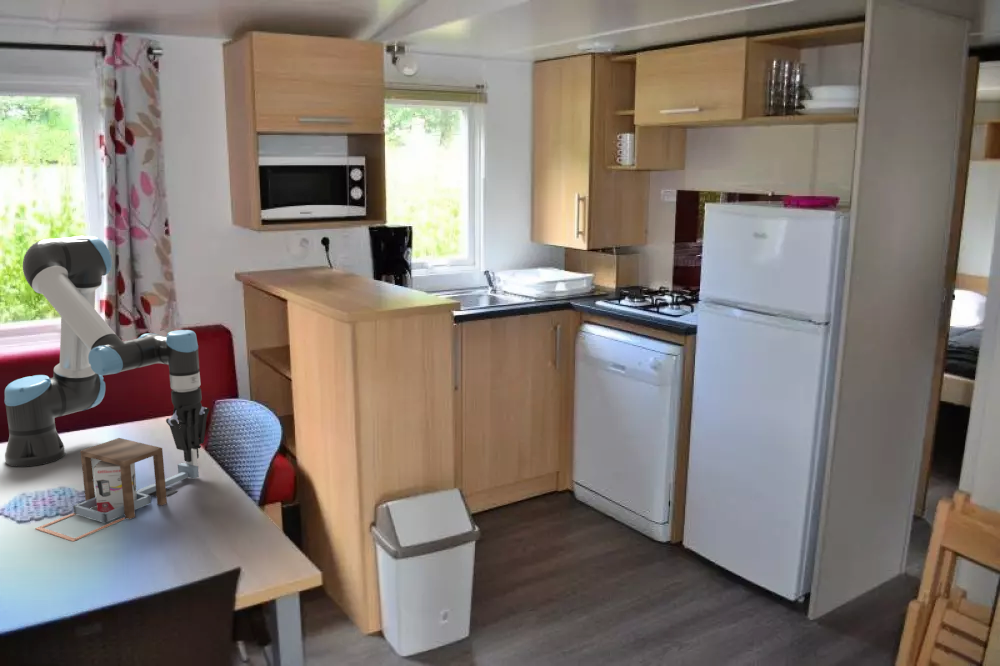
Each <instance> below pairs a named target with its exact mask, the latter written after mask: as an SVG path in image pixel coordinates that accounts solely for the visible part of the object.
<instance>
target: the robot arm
mask: <svg viewBox="0 0 1000 666" xmlns="http://www.w3.org/2000/svg"><path fill="white" fill-rule="evenodd" d="M112 266H113V259H112V255H111V252H110V249H109V248H108V247H107V245H106V243H105V242H104V241H103V240H102V239H100V238H99V237H97V236H94V235H87V236H86V235H85V236H84V235H78V236H69V237H68V236H67V237H59V238H58V237H57V238H56V237H55V238H44V239H41V240H38V241H37V242H35V243H33V244H32V245H31V246H29V248H28V249H27V250H26V252H25V254H24V256H23V260H22V272H23V275H24V278H25V281H26V282H27V284H28V285H29V286H30V287H31V288H32V290H33V291H34V292H35V293H37V294H41V295H43V296H44V298H45V299H46V301H47V302H48V303H49V304H50V305H51V306H52V308H53V309H54V310H55V311H56V312H57V313H58V314H59V316H60V341H59V342H60V345H59V363H57V364H56V365H55V366H54V367H53V377H49V376H48V375H45V374H35V375H32V376H30V375H29V376H25V377H22V378H17V379H15V380H13V381H11V382H10V383H8V384H7V386H6V387H5V389H4V404H5V409H6V417H7V418H6V419H7V424H8V434H9V437H8V441H7V445H6V449H5V453H4V459H5V464H6V465H8V466H11V467H16V468H17V467H19V468H20V467H22V468H23V467H34V466H35V467H36V466H40V465H45V464H49V463H52V462H56V461H57V460H60V459H61V458H63V457H64V456H65V454H66V449H65V445H64V443H63V441H62V439H61V437H60V435H59V433H58V431H57V429H56V423H55V422H56V421H55V418H59V417H63V416H66V415H70V414H71V415H72V414H74V413H77V412H82V411H86V410H89V409H91V408H95V407H96V406H98V405H100V404H101V402H102V401H103V399H104V398H105V394H106V382H105V381H104V377H103V376H108V375H109V376H110V375H114V374H119V373H121V372H125V371H130V370H134V369H138V368H143V367H147V366H151V365H155V364H163V365H167V366H168V369H169V385H170V389H171V391H170V394H171V403H172V405H173V411H172V413H173V414H172V416H170V417H168V418H166V419H165V422H166V424H167V425H168V426H169V429H170V431H171V434H172V437H173V441H174V444H175V447H176V449H177V450H179V451H183V460H184V462H185V463H186V464H190V465H194V466H198V467H199V465H198V464H199V463H198V459H199V456H200V454H199V449H201V448H202V445H203V444H204V443H205V437H206V427H207V418H208V415H209V412H210V408H209V407H205V406H202V405H203V404H202V402H201V401H202V400H203V398H202V397H203V396H202V388H201V387H200V386H201V375H200V373H201V372H200V358H199V345H198V344H199V343H198V339H197V334H196V332H195V331H194V330H190V329H178V330H177V329H176V330H172V331H169V332H168V333H167V334H166V335H162V334H159V333H154V332H153V333H143V334H141V335H140V336H138V338H135V339H131V340H129V339H128V340H124V341H123V340H122V339H121V338H120V337H119V336H118V335H117V334H116V333H115V331H114V330H113V328H111V327H110V326H109V324H108V323H107V321H105V319H103V317H102V316H101V314H100V313H98V312H97V311H98V310H96V308H95V307H96V306H95V305H96V290H97V289H98V288H100V287H101V286H102V283H103V279H102V278H103V276H106V275H108V274H109V273H110V272H111V270H112V268H113V267H112Z"/></svg>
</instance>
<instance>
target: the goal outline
mask: <svg viewBox="0 0 1000 666" xmlns="http://www.w3.org/2000/svg"><path fill="white" fill-rule="evenodd" d="M90 509H92V508H90ZM75 515H77V514H74V512H72V513H70V514H68V515H64V516H63V517H60V518H57V519H55V520H53V521H50V522H47V523H46V524H43V525H40V526H38V527H36V528H35V530H37V531H40V532H43V533H45V534H49V535H52V536H54V537H58V538H61V539H63V540H67V541H70V542H75V541H78V540H81V539H82V537H83V538H85V537H87V536H89V535H91V534H95V533H96V532H99V531H101V530H103V529H105V528H107V527H110V526H112V525H115V524H116V523H119V522H122V521H124V520H125V519H126V518H125V516H124V517H123V516H122V517H120V518H118V519H116V520H113V521H112V522H109V523H107V524H104V525H102V526H100V527H97V528H95V529H92V530H90V531H89V532H88V531H87V532H85V533H84V534H81V535H79V536H77V537H74V536H73V537H72V536H69V535H66V534H64V533H60V532H58V531H54V530H51V529H48V528H46V527H49V526H52V525H53V524H56V523H58V522H61V521H63V520H65V519H68V518H71V517H74V516H75Z"/></svg>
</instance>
